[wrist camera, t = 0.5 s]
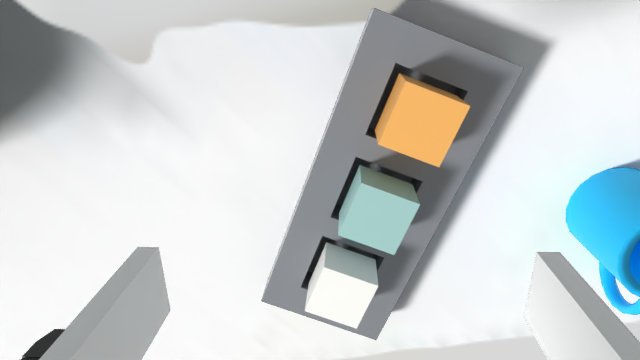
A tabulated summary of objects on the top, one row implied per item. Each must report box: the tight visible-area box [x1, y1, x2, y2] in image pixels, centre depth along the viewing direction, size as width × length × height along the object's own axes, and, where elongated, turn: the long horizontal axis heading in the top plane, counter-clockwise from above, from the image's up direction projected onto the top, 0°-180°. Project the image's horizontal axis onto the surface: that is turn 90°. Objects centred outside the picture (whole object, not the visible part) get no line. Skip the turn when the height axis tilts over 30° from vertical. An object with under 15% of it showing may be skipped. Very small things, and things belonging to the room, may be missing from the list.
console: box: [261, 8, 524, 340], centre depth 38 cm, size 12×28×4 cm, turn 160°
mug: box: [566, 167, 640, 315], centre depth 36 cm, size 12×8×8 cm
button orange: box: [375, 73, 470, 167], centre depth 31 cm, size 5×5×4 cm
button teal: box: [338, 165, 420, 255], centre depth 34 cm, size 5×5×4 cm
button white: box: [305, 242, 378, 329], centre depth 37 cm, size 5×5×4 cm
